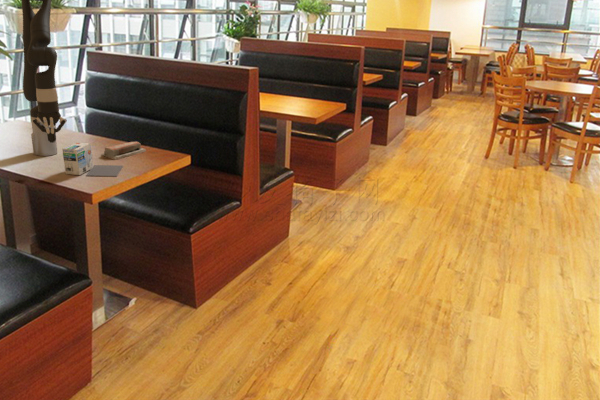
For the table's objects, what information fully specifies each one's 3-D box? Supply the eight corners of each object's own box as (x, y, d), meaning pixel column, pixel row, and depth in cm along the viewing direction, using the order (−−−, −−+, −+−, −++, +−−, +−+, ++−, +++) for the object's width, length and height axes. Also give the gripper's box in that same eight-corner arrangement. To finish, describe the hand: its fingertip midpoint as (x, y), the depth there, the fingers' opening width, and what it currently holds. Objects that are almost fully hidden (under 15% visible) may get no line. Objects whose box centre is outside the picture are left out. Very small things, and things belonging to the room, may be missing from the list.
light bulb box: (79, 175, 226) (76, 149, 223) (64, 174, 228) (61, 148, 224) (94, 167, 236) (91, 143, 232) (79, 166, 237) (76, 141, 234)
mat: (86, 176, 227) (86, 175, 227) (94, 165, 240) (94, 165, 240) (116, 176, 228) (116, 175, 228) (123, 166, 241) (123, 165, 241)
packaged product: (115, 150, 248) (100, 146, 253) (116, 160, 249) (101, 156, 254) (145, 142, 262) (131, 138, 267) (146, 152, 264) (131, 148, 269)
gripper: (26, 100, 216) (32, 144, 222) (62, 101, 218) (66, 144, 224) (33, 97, 223) (38, 139, 229) (67, 98, 225) (72, 140, 231)
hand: (52, 142), depth 227 cm, fingers closed
